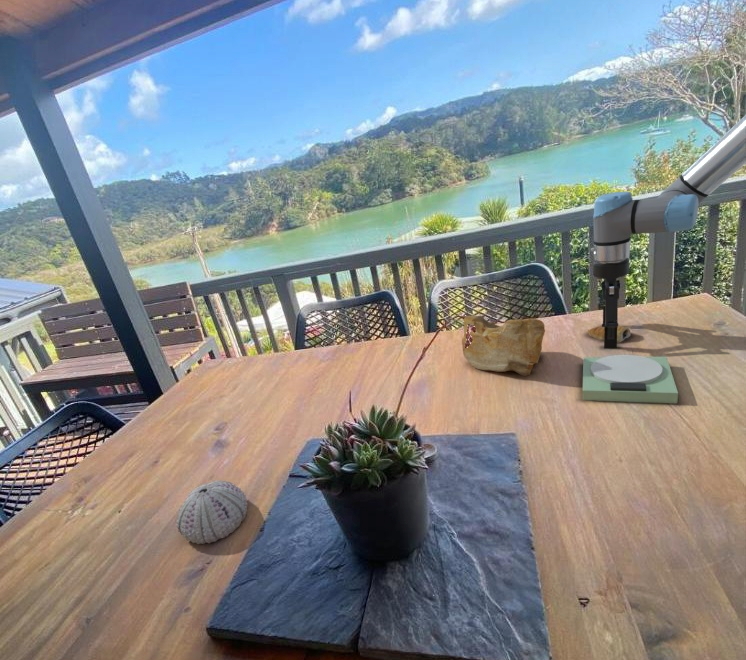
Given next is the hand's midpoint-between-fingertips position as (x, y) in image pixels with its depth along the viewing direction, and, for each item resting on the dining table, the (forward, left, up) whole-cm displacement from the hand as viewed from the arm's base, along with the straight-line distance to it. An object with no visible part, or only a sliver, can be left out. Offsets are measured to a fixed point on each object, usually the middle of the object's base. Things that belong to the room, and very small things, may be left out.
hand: (609, 338), depth 115 cm
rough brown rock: (+22, +15, 0) cm, 27 cm away
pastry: (0, 0, 0) cm, 0 cm away
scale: (-2, +25, 0) cm, 25 cm away
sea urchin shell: (+67, +83, 0) cm, 107 cm away
